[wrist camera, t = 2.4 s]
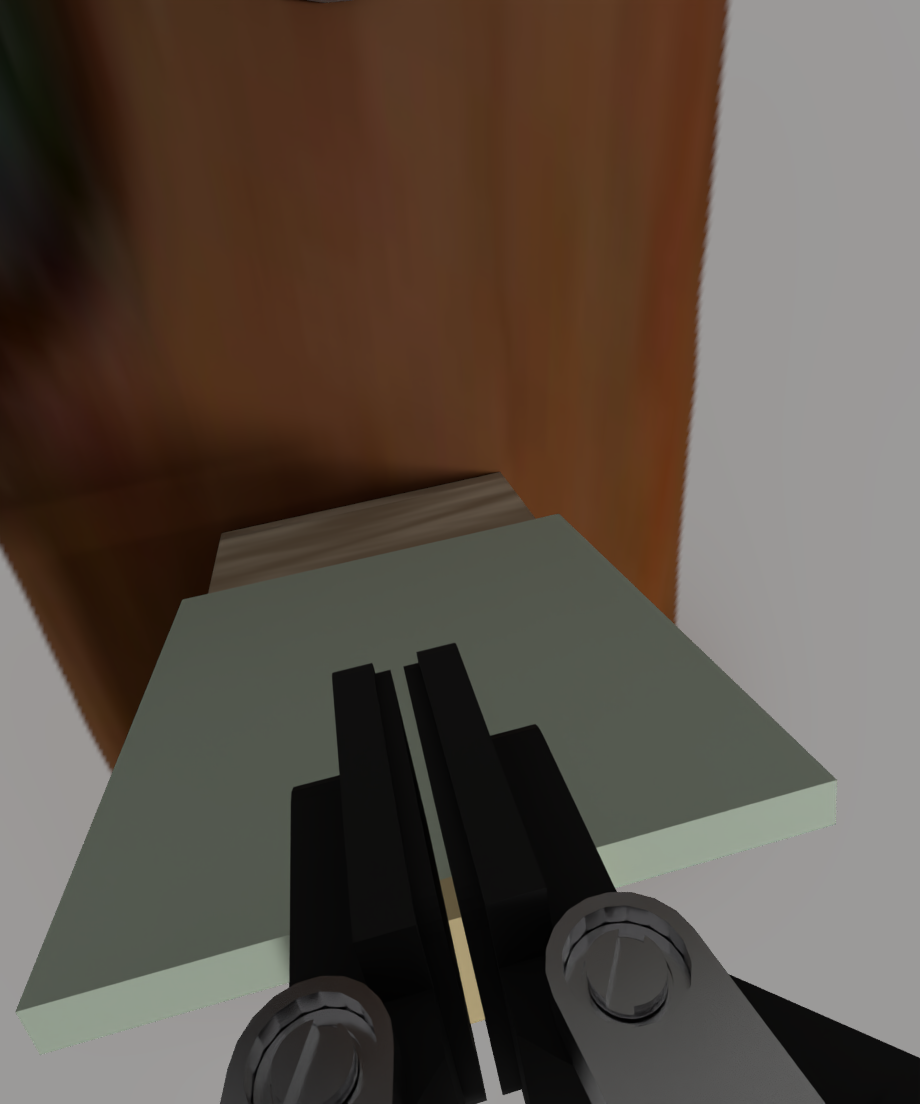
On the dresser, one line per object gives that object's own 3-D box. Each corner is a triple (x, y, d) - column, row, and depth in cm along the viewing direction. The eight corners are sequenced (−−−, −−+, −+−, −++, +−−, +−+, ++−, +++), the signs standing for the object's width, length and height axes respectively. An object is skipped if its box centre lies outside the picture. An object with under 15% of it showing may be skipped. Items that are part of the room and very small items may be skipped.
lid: (200, 653, 32) (180, 595, 31) (565, 566, 34) (558, 509, 33) (52, 1151, 14) (-9, 1052, 13) (862, 904, 16) (866, 800, 15)
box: (221, 533, 41) (200, 625, 32) (500, 472, 42) (554, 543, 34) (302, 775, 49) (303, 902, 40) (533, 715, 51) (583, 824, 42)
